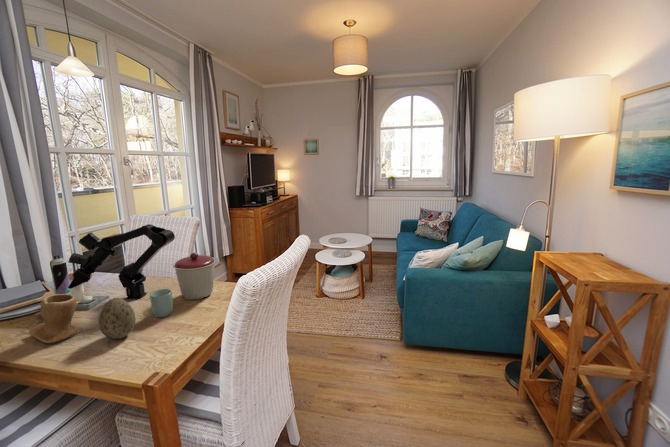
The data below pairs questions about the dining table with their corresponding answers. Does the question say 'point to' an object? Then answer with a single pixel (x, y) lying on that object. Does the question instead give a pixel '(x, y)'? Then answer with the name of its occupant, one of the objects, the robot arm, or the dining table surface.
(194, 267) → the canister
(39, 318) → the stand
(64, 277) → the spray can
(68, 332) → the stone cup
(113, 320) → the decorative egg
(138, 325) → the dining table surface
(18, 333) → the dining table surface
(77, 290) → the white pink-capped bottle
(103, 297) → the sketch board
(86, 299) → the button
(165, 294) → the cup
